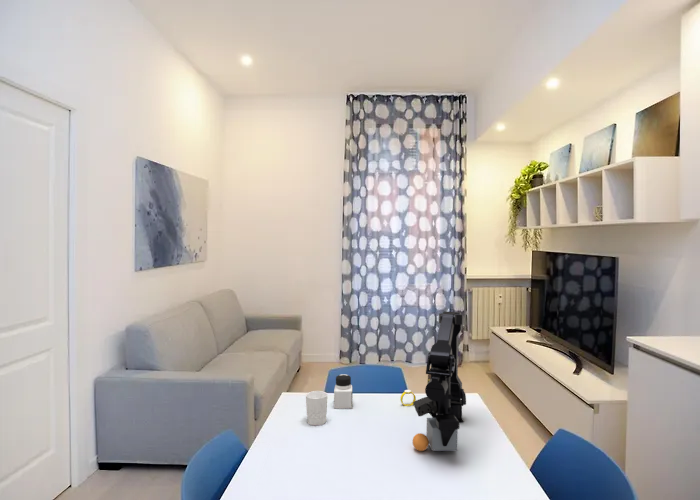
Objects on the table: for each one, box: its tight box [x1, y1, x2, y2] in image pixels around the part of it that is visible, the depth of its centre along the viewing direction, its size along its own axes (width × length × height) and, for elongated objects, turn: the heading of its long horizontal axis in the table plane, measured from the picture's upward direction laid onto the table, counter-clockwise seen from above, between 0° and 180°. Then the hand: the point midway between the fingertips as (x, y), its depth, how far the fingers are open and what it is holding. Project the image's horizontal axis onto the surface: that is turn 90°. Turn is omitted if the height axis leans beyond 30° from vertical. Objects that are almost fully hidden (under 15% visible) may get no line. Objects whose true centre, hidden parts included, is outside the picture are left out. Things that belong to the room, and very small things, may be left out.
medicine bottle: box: [333, 374, 353, 410], centre depth 164 cm, size 7×7×12 cm
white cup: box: [305, 390, 328, 427], centre depth 148 cm, size 8×8×10 cm
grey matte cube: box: [425, 417, 459, 452], centre depth 128 cm, size 8×8×7 cm
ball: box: [412, 432, 430, 452], centre depth 127 cm, size 5×5×5 cm
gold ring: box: [400, 389, 417, 407], centre depth 164 cm, size 6×3×6 cm, turn 103°
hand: (441, 439), depth 128 cm, fingers closed on grey matte cube, 8 cm apart
